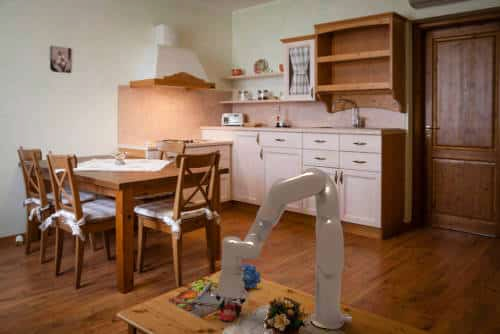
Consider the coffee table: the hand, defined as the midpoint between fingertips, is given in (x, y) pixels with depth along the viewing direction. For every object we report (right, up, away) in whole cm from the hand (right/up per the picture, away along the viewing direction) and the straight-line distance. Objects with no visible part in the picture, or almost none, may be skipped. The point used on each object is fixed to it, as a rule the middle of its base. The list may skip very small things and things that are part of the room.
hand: (230, 312), depth 172 cm
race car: (0, -1, 0) cm, 1 cm away
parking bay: (-7, +1, +18) cm, 19 cm away
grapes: (+7, +2, +25) cm, 26 cm away
